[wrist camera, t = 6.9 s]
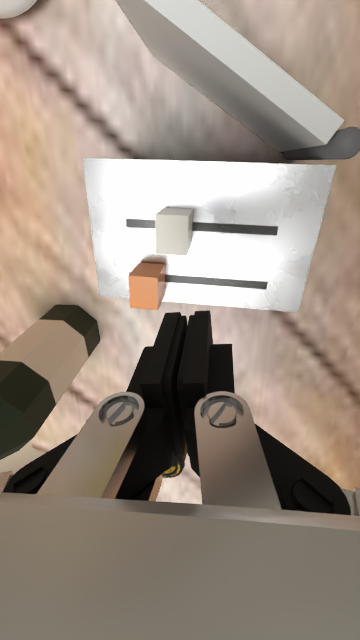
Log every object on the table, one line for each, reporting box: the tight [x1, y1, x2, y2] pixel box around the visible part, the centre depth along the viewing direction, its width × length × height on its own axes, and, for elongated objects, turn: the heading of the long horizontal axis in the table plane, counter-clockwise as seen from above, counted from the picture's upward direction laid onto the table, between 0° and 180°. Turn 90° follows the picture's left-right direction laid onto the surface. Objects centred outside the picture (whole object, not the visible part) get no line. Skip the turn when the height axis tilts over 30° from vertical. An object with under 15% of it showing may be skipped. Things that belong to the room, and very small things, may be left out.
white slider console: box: [82, 158, 336, 312], centre depth 26 cm, size 16×10×12 cm, turn 89°
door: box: [115, 0, 360, 160], centre depth 20 cm, size 16×2×14 cm, turn 59°
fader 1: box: [128, 263, 165, 310], centre depth 21 cm, size 2×2×3 cm
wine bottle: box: [0, 305, 100, 460], centre depth 28 cm, size 8×8×30 cm
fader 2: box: [155, 208, 193, 256], centre depth 19 cm, size 2×2×3 cm
